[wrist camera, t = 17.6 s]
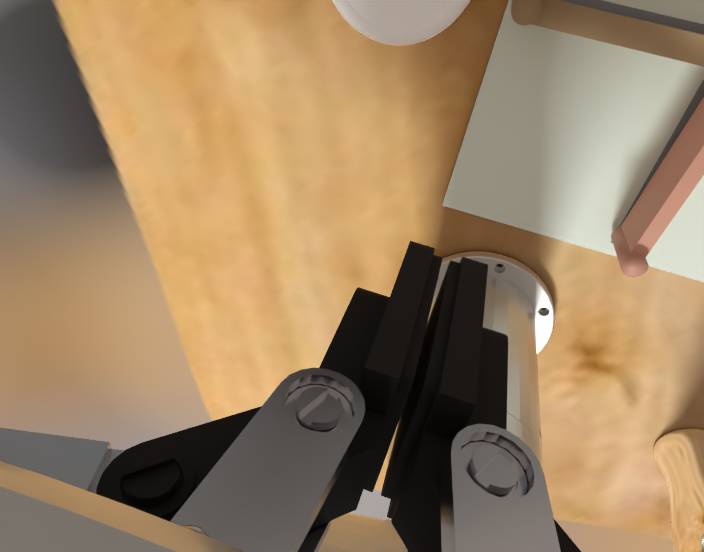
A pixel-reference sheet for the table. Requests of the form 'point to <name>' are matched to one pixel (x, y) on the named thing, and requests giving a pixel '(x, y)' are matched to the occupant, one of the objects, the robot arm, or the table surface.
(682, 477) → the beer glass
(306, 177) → the table surface
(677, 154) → the panel
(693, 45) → the fixed panel
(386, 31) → the white short round cylinder
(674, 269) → the board
